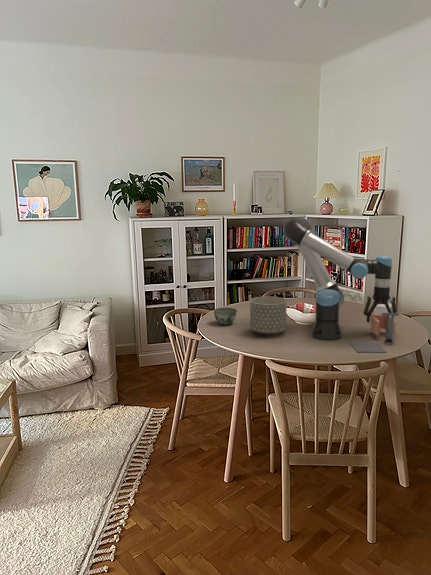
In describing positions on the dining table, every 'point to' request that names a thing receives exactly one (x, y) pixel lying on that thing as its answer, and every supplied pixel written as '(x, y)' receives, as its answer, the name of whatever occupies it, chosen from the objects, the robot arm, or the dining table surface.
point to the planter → (268, 315)
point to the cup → (381, 309)
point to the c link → (380, 324)
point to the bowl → (225, 315)
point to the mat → (367, 347)
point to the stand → (389, 327)
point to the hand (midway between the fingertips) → (378, 328)
